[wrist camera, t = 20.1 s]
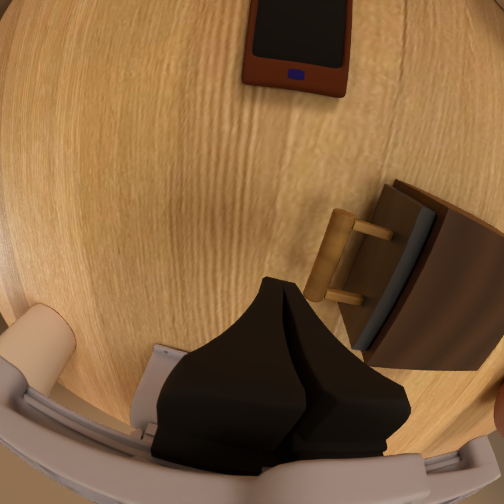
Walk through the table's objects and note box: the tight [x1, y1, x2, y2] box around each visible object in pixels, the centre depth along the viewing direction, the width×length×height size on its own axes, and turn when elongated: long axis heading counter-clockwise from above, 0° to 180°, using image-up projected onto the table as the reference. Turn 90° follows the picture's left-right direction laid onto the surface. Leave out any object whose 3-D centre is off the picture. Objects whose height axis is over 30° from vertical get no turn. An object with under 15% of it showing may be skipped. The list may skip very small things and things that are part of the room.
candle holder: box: [0, 304, 76, 397], centre depth 24 cm, size 10×10×12 cm
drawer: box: [303, 184, 437, 351], centre depth 18 cm, size 17×10×6 cm, turn 77°
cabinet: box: [361, 179, 504, 371], centre depth 18 cm, size 14×12×8 cm
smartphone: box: [242, 0, 353, 98], centre depth 13 cm, size 7×1×15 cm
